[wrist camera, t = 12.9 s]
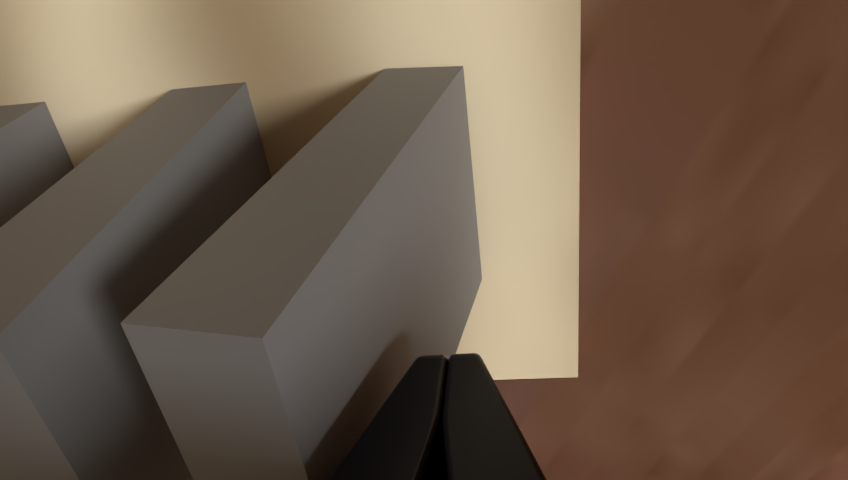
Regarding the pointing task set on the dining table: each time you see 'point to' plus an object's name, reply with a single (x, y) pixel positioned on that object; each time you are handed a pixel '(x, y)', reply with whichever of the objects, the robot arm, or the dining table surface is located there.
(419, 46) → the domino board
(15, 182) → the domino
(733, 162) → the dining table surface
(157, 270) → the domino
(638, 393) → the dining table surface
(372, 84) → the domino
